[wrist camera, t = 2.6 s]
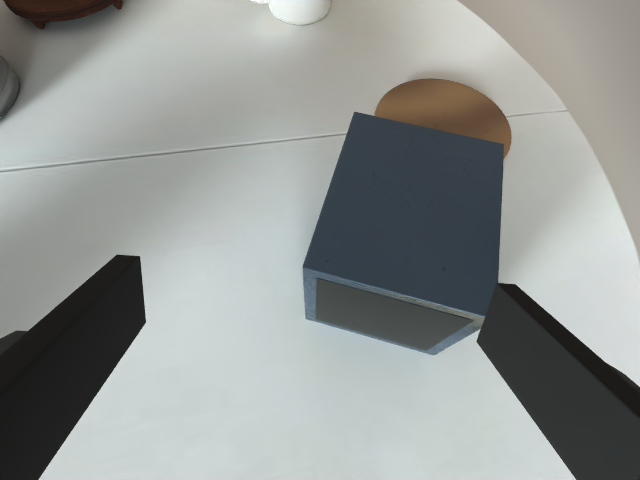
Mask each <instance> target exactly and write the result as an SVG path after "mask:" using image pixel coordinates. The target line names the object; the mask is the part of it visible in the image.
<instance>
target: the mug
mask: <svg viewBox="0 0 640 480" xmlns="http://www.w3.org/2000/svg"><path fill="white" fill-rule="evenodd" d="M250 1H252V2H255V3H259V4H265V3H268V5H269V9H270V11H271V13H272V14H273V15H274V16H275V17H276V18H277V19H279V20H281V21H282V22H285V23H288V24H293V25H306V24H311V23H314V22H317V21H319V20H321V19H322V18H323V17H324V16H325V15H326V14H327V13H328V11H329V9H330V4H331V0H250Z"/></svg>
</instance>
